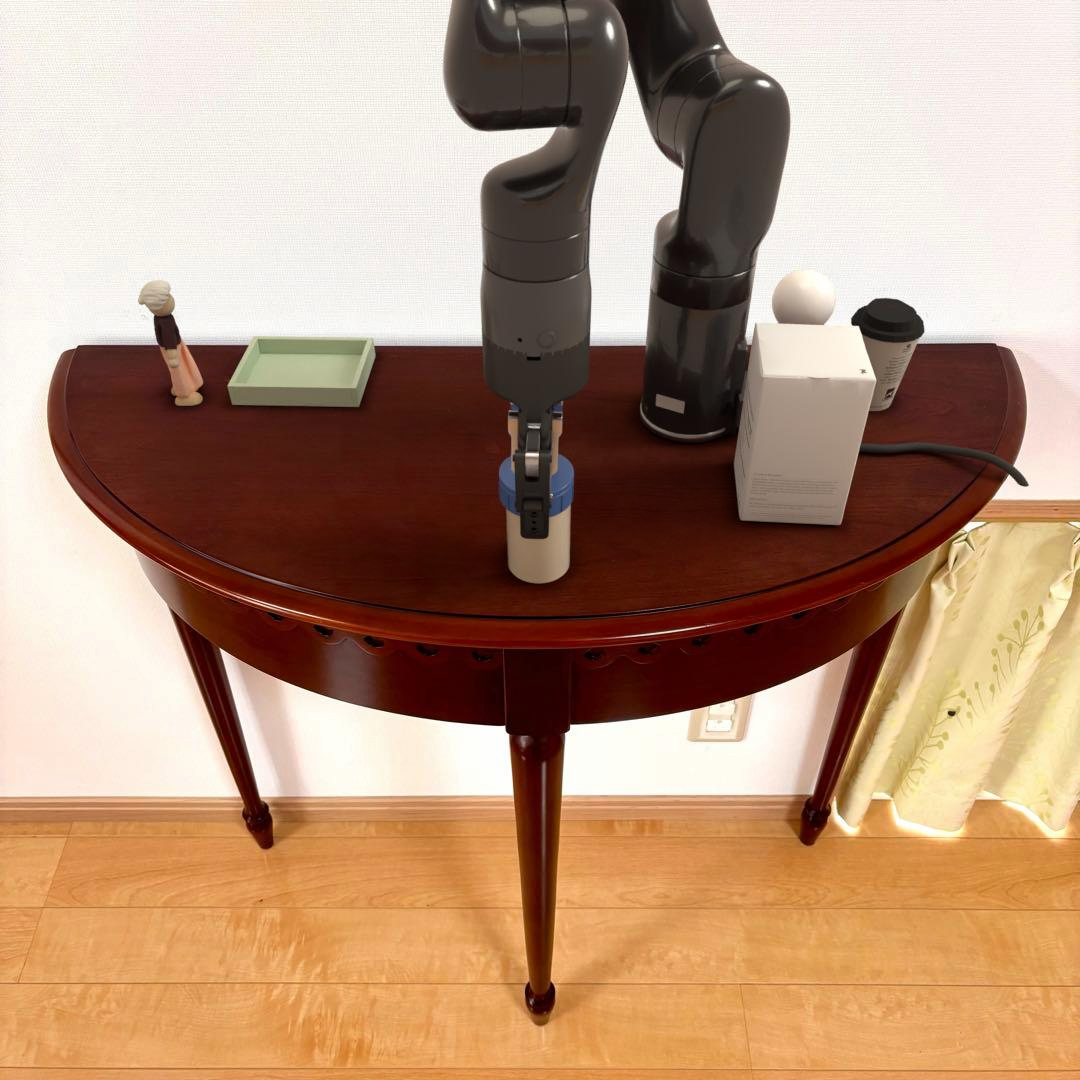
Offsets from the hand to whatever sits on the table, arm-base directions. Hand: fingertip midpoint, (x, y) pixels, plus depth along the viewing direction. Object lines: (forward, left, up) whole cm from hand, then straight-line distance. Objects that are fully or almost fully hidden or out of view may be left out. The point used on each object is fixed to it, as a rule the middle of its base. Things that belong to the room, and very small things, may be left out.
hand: (536, 509), depth 77 cm
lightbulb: (-26, -32, -6) cm, 42 cm away
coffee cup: (-33, -26, -6) cm, 42 cm away
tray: (+26, -28, -6) cm, 39 cm away
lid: (0, 0, +3) cm, 3 cm away
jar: (0, 0, -6) cm, 6 cm away
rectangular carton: (-22, -10, -6) cm, 25 cm away
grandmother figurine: (+38, -25, -6) cm, 46 cm away
